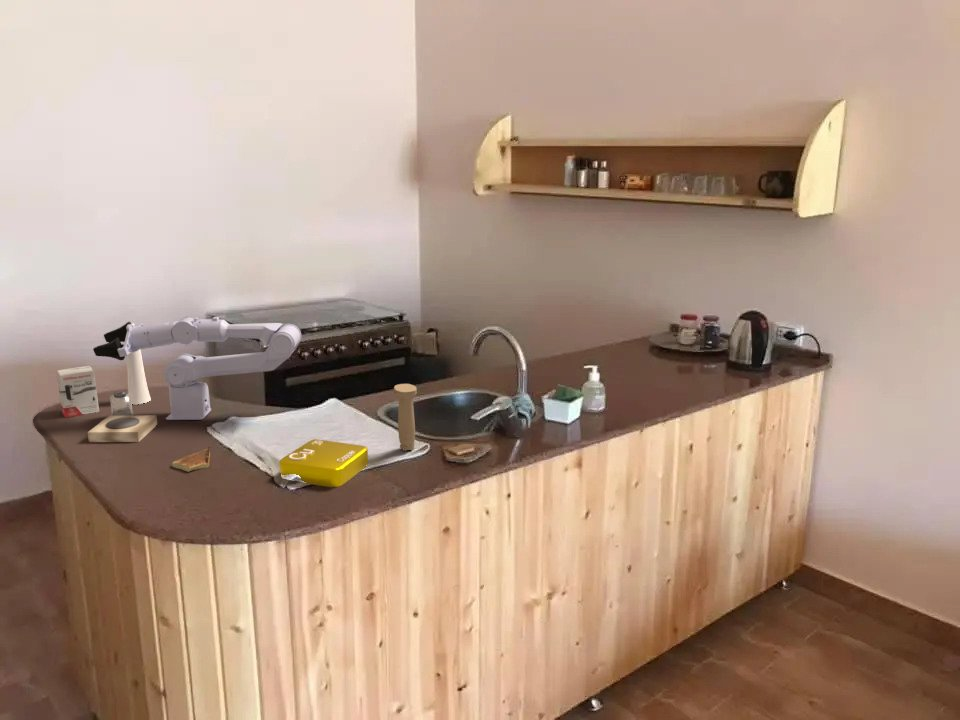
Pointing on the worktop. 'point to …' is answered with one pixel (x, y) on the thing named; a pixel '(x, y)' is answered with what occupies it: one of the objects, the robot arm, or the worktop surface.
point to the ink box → (77, 391)
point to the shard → (193, 461)
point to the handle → (406, 415)
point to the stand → (122, 428)
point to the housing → (121, 404)
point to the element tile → (325, 462)
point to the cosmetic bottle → (137, 378)
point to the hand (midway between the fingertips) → (100, 344)
